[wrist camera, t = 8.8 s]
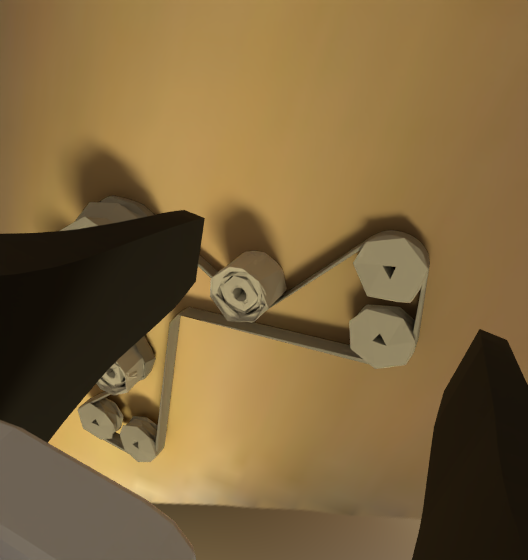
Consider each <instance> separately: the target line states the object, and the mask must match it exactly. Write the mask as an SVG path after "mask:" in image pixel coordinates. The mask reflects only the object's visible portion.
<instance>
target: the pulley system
mask: <svg viewBox="0 0 528 560" xmlns="http://www.w3.org/2000/svg"><path fill="white" fill-rule="evenodd" d="M152 215H154V214H153V213H152V212H151V211H150V210H149V209H148V208H146V207H145V206H144V205H143V204H141V203H138V202H136V201H133V200H130V199H126V198H122V197H118V196H108V197H106V198H104V199H103V200H101V201H100V202H89V204H88V205H87V206H86V207H85V209H84V210H83V211H82V213H81V214H80V215H79V217H78V218H77V219H76V221H75V222H74V223H72V224H70V225H69V226H67V227H65V228H63V229H62V230H60V231H66V230H74V229H81V228H87V227H93V226H99V225H105V224H112V223H117V222H122V221H127V220H132V219H137V218H142V217H147V216H152ZM360 250H361V251H360ZM358 251H360V252H359V254H358V256H357V257H356V259H355V261H354V262H353V264H354V267H355V269H356V271H357V274H358V276H359V278H360V281H361V283H362V285H363V288H364V290H365V292H366V295H367V296H369V297H374V298H379V299H385V300H390V301H395V302H406V303H411V301H412V300H413V299H414V297H415V296H416V295H417V293H418V292H419V291H420V289H421V293H420V299H419V304H418V309H417V315H416V320H414V319H413V318H412V317H411V316H410V315H408V314H407V313H406V312H405V311H404V310H403V309H402V308H401V307H398V306H383V305H368V304H367V305H366V306H365V307H363V308H362V309H361V311H360V312H359V313H358V315H357V316H356V317H354V318H353V319H352V320H350V321H349V329H350V345H347V344H343V343H338V342H334V341H330V340H326V339H322V338H317V337H313V336H309V335H305V334H301V333H296V332H292V331H288V330H284V329H280V328H276V327H271V326H267V325H263V324H259V323H255V321H256V320H257V319H258V318H259V317H260V316H261V315H262V314H263V313H264V312H265V311H266V310H268V309H269V308H271V307H272V306H274V305H275V304H277V303H279V302H280V301H282V300H283V299H285V298H286V297H288V296H290V295H291V294H293V293H294V292H296V291H297V290H299V289H300V288H302V287H304V286H305V285H307V284H308V283H310V282H311V281H313V280H314V279H316V278H318V277H319V276H321V275H322V274H324V273H325V272H327V271H328V270H330V269H332V268H333V267H335V266H336V265H338V264H339V263H341V262H342V261H344V260H346V259H347V258H349V257H350V256H352V255H353V254H355V253H357V252H358ZM429 264H430V262H429V255H428V252H427V251H426V248H425V247H424V246H423V244H422V243H421V242H419V241H418V240H417V239H416V238H415V237H413V236H411V235H409V234H407V233H404V232H400V231H394V230H388V231H382V232H380V233H377V234H375V235H373V236H371V237H369V238H368V239H366V240H365V241H364V242H362V243H361V244H359V245H358V246H356V247H355V248H353V249H352V250H350V251H349V252H347V253H346V254H344V255H343V256H341V257H340V258H338V259H337V260H335V261H334V262H332V263H331V264H329V265H328V266H326V267H325V268H323V269H321V270H320V271H318V272H317V273H315V274H314V275H312V276H311V277H309V278H308V279H306V280H305V281H303V282H302V283H300V284H298V285H297V286H295V287H294V288H292V289H291V290H289V291H288V292H286V293H285V294H283V293H284V292H285V291H286V290H287V288H286V283H285V277H284V272H283V269H282V268H281V267H280V266H279V264H278V263H277V262H276V261H275V260H274V259H272V258H271V257H270V256H269V255H268V254H266V253H265V252H260V251H249V252H246V251H245V252H244V253H242V254H241V255H239V256H238V257H237V258H236V259H235V260H234V261H232V262H231V263H230V264H229V265H227V266H226V267H224V268H223V269H221V270H220V271H219V272H218V271H217V270H216V269H215V268H213V267H212V266H211V265H210V264H209V263H208V262H207V261H206V260H205V259H203V258H202V257H201V256H200V255H199V261H198V266H199V267H200V268H201V269H202V270H203V271H204V272H205V273H206V274H207V275H208V276H209V277H210V278H211V286H210V297H211V298H212V300H213V301H214V302H215V304H216V305H217V307H218V308H219V310H220V311H221V312H222V314H223V315H221V314H217V313H213V312H209V311H204V310H200V309H196V308H192V307H187V308H186V309H184V310H183V311H181V312H180V313H178V314H177V316H176V317H175V318H174V319H173V320H172V321H171V322H170V325H169V334H168V342H167V351H166V359H165V368H164V377H163V385H162V394H161V402H160V411H159V419H158V425H156V424H155V423H154V422H152V421H151V420H150V419H148V418H147V417H139V416H133V417H132V418H131V420H130V422H129V423H128V424H127V425H126V426H125V425H123V427H122V430H121V432H120V434H118V433H116V431H117V430H119V429H120V428H121V426H122V422H123V417H124V416H123V415H122V413H121V411H120V410H119V408H118V406H117V405H116V403H114V402H113V401H111V400H109V399H107V398H106V396H109V395H111V394H112V395H118V394H123V393H127V392H128V391H129V390H130V389H131V388H132V387H133V386H134V385H135V384H136V383H137V382H138V381H140V380H142V379H145V378H146V377H147V376H148V374H149V373H150V372H151V371H152V368H153V365H154V362H155V359H156V358H155V356H154V354H153V352H152V348H151V347H150V346H149V344H148V342H147V340H146V338H145V336H143V337H142V338H141V339H140V340H139V341H138V342H137V343H136V344H135V345H134V346H132V347H131V348H130V349H129V350H128V351H127V352H126V353H125V354H124V355H123V356H121V357H120V358H119V359H118V360H117V361H116V362H115V363H114V364H113V365H112V366H111V367H110V368H109V369H108V370H107V372H106V373H105V374H104V375H103V376H102V377H101V378H100V380H99V381H98V382H97V383H96V384H97V385H98V386H99V388H100V389H101V390H104V391H105V392H103V393H101V394H98V395H96V396H94V397H92V398H90V399H89V400H88V401H86V402H85V403H84V404H83V405H81V406H80V407H79V409H78V413H79V416H80V420H81V423H82V426H83V429H85V430H86V431H88V432H90V433H91V434H93V435H94V436H96V437H98V438H99V439H103V440H105V441H106V442H108V443H110V444H112V445H114V446H116V447H117V448H119V449H121V450H123V451H125V452H127V453H128V454H130V455H131V456H132V457H133V458H134V459H135V460H136V461H138V462H151V461H152V460H153V459H155V458H156V457H157V455H158V454H159V453H160V452H161V451H162V450H163V448H164V445H165V438H166V430H167V422H168V414H169V405H170V397H171V389H172V381H173V373H174V364H175V356H176V348H177V340H178V332H179V323H180V315H181V316H185V317H189V318H193V319H197V320H200V321H204V322H208V323H212V324H216V325H220V326H224V327H227V328H231V329H235V330H239V331H243V332H247V333H250V334H254V335H258V336H262V337H266V338H270V339H274V340H277V341H281V342H285V343H289V344H293V345H297V346H301V347H304V348H308V349H312V350H316V351H320V352H324V353H328V354H331V355H335V356H339V357H343V358H347V359H351V360H355V361H358V362H362V363H366V364H370V365H371V366H372V367H373V368H375V369H377V368H388V367H395V366H402V365H406V364H407V362H408V361H409V359H410V358H411V356H412V355H413V353H414V350H415V347H416V344H417V342H418V338H419V332H420V326H421V319H422V312H423V305H424V298H425V292H426V285H427V278H428V271H429ZM391 266H392V267H396V268H395V270H394V269H393V268H392V267H391ZM421 286H422V288H421ZM282 294H283V295H282ZM281 295H282V296H281Z"/></svg>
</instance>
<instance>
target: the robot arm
mask: <svg viewBox="0 0 528 560" xmlns="http://www.w3.org/2000/svg"><path fill="white" fill-rule="evenodd" d="M204 219H205V218H203V217H200V216H198V215H195V214H193V213H190V212H188V211H185V210H181V211H173V212H167V213H162V214H157V215H152V216H147V217H142V218H137V219H132V220H127V221H122V222H117V223H112V224H105V225H99V226H93V227H87V228H81V229H74V230H66V231H56V232H43V233H20V234H0V560H196V557H195V552H194V549H193V546H192V544H191V543H190V542H189V540H188V539H187V538H186V536H185V535H184V534H183V532H182V531H181V530H180V528H179V527H178V525H177V524H176V523H175V522H174V521H173V520H172V519H171V518H169V517H168V516H167V515H166V514H164V513H163V512H162V511H160V510H159V509H158V508H157V507H155V506H154V505H153V504H151V503H150V502H149V501H147V500H146V499H144V498H142V497H141V496H139V495H137V494H135V493H134V492H132V491H130V490H128V489H127V488H125V487H123V486H122V485H120V484H118V483H116V482H115V481H113V480H111V479H109V478H108V477H106V476H104V475H102V474H101V473H99V472H97V471H96V470H94V469H92V468H90V467H89V466H87V465H85V464H83V463H82V462H80V461H78V460H76V459H75V458H73V457H71V456H69V455H68V454H66V453H64V452H63V451H61V450H59V449H57V448H56V447H54V446H52V445H50V444H49V443H48V442H49V440H50V439H51V438H52V436H53V435H54V434H55V433H56V431H57V430H58V429H59V427H60V426H61V425H62V423H63V422H64V421H65V420H66V419H67V417H68V416H69V415H70V414H71V413H72V411H73V410H74V409H75V408H76V406H77V405H78V404H79V403H80V402H81V400H82V399H83V398H84V397H85V396H86V394H87V393H88V392H89V391H90V390H91V389H92V388H93V386H94V385H95V384H96V383H97V382H98V381H99V380H100V378H101V377H102V376H103V375H104V374H105V373H106V372H107V370H108V369H109V368H110V367H111V366H112V365H113V364H114V363H115V362H116V361H117V360H118V359H119V358H120V357H121V356H123V355H124V354H125V353H126V352H127V351H128V350H129V349H130V348H131V347H132V346H134V345H135V344H136V343H137V342H138V341H139V340H140V339H141V338H142V337H143V336H145V335H146V334H147V333H148V332H149V331H150V330H151V329H152V328H153V327H154V326H156V325H157V324H158V323H159V322H160V321H161V320H162V319H163V318H164V317H165V316H166V315H167V314H168V313H169V312H171V311H172V310H173V309H174V308H175V307H176V305H177V304H178V303H179V302H180V301H181V299H182V298H183V297H184V296H185V295H186V293H187V292H188V291H189V289H190V288H191V287H192V286H193V284H194V283H195V282H196V275H197V268H198V261H199V254H200V247H201V240H202V233H203V226H204ZM412 560H528V385H527V383H526V381H525V378H524V376H523V374H522V372H521V370H520V368H519V365H518V363H517V361H516V359H515V356H514V354H513V352H512V350H511V348H510V345H509V343H508V341H507V340H505V339H503V338H500V337H498V336H496V335H493V334H491V333H488V332H486V331H483V330H481V329H479V331H478V333H477V335H476V336H475V338H474V340H473V342H472V343H471V345H470V347H469V349H468V350H467V352H466V354H465V356H464V357H463V359H462V361H461V363H460V364H459V366H458V368H457V370H456V371H455V373H454V375H453V377H452V378H451V380H450V382H449V384H448V385H447V387H446V389H445V390H444V393H443V397H442V400H441V404H440V407H439V411H438V414H437V418H436V422H435V426H434V432H433V438H432V446H431V453H430V461H429V468H428V476H427V484H426V491H425V499H424V507H423V513H422V519H421V524H420V529H419V534H418V538H417V542H416V546H415V550H414V554H413V558H412Z"/></svg>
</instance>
